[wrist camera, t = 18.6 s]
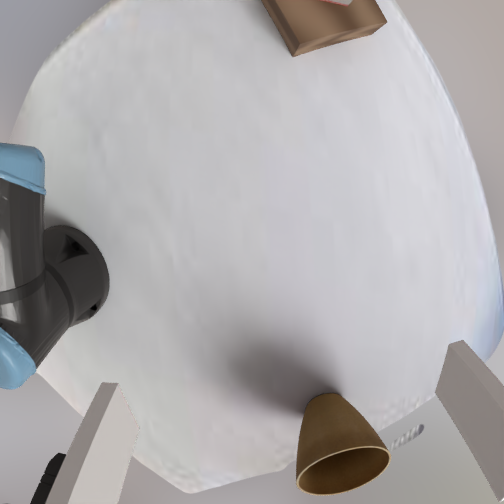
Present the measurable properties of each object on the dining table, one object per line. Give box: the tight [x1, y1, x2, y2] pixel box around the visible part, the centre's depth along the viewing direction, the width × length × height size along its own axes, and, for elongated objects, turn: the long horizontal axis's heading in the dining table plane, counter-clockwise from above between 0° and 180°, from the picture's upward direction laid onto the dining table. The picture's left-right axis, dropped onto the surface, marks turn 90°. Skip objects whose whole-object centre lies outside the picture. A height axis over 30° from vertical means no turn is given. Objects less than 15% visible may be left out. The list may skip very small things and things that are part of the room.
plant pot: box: [296, 393, 391, 495], centre depth 45 cm, size 15×15×16 cm
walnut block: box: [261, 0, 387, 57], centre depth 29 cm, size 12×12×6 cm
